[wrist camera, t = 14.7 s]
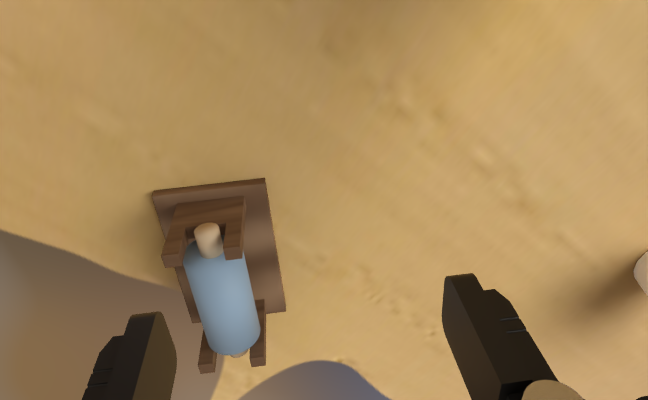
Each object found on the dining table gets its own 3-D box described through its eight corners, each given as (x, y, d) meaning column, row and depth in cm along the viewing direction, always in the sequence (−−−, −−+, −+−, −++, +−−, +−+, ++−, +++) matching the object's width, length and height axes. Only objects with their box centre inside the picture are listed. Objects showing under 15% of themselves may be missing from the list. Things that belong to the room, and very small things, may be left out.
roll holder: (154, 190, 42) (130, 248, 35) (264, 178, 43) (263, 232, 36) (193, 316, 51) (181, 383, 44) (285, 304, 51) (288, 369, 44)
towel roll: (172, 221, 39) (177, 256, 35) (231, 206, 41) (242, 238, 37) (209, 338, 47) (216, 377, 43) (257, 323, 48) (269, 360, 44)
